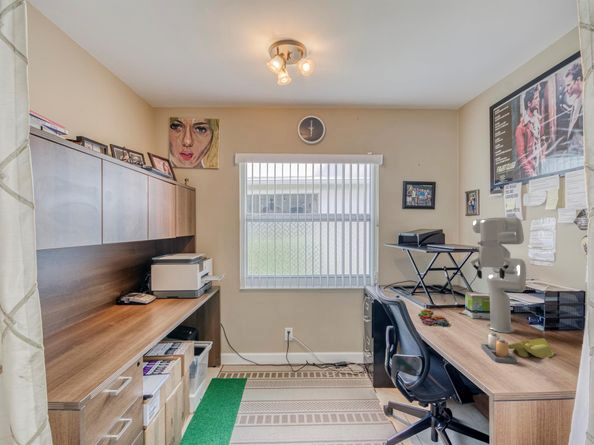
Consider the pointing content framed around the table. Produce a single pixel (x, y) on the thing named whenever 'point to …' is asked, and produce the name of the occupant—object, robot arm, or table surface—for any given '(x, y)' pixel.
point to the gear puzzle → (432, 319)
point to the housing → (493, 356)
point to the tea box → (477, 305)
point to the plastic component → (533, 348)
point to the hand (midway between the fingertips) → (490, 278)
